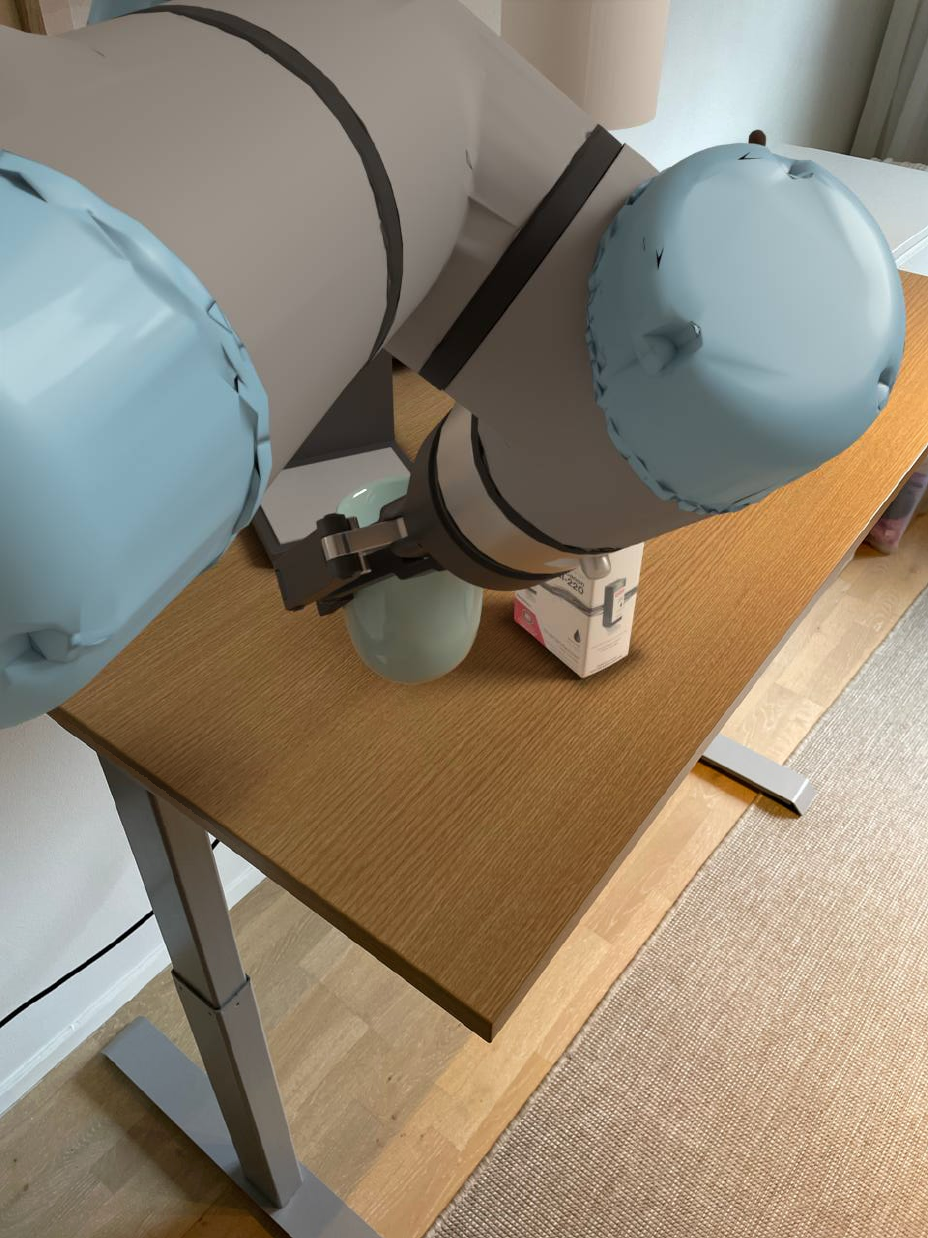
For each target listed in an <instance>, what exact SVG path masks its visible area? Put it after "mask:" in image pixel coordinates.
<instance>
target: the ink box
mask: <svg viewBox="0 0 928 1238" xmlns="http://www.w3.org/2000/svg"><path fill="white" fill-rule="evenodd" d="M644 546H645V542H642V543H639V544H637V545H633V546H630V547H628V548H624V549H622V550H619V551H617V552H614V553H611V554H608V556H609V559H610V563H611V571H610V574H609V575H607V576H606V577H605V578H601V579H598V580H592V579H587V577H586V576H585V575H584V573H583V572H582V569H581V566H580V567H578V568H576V569H575V570H573V571H571V572H569V573H567V574H564V575H562V576H559V577H557V578H554V579H552V580H549V581H547V582H544V583H542V584H539V585H537V586H534V587H531V588H527V589H523V590H517V591H514V613H513V614H514V615H513V616H514V618H513V620H514V622H516V623H517V624H518V625H519V626H521V627H522V628H523V629H524V630H525V631H526V632H528V634H530V635H531V636H532V637H533V638H535V639H536V640H537V642H539V643H540V644H541V645H542V646H544V647H545V648H546V649H547V650H548V651H550V652H551V654H553V655H554V656H556V657H557V658H558V659H559V660H560V661H561V662H562V663H563V664H564V665H566V666H567V667H568V668H569V669H571V670H572V671H573V672H574V673H575V674H577V676H579V678H581V679H585V678H587V677H589V676H593V675H594V674H596V673H599V672H600V671H601V672H602V671H603V670H605V669H606V668H608V667H611V666H613V664H616V663H617V662H618V661H620V660H622V659H623V658H626V656H628V655H629V650H630V642H631V636H632V630H633V623H634V622H633V621H634V615H635V608H636V602H637V594H638V590H639V589H638V588H639V582H640V581H639V580H640V574H641V567H642V559H643V553H644Z"/></svg>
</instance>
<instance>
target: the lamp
mask: <svg viewBox="0 0 928 1238" xmlns="http://www.w3.org/2000/svg"><path fill="white" fill-rule="evenodd" d="M500 4H501V6H500V7H501V8H500V35H499V37H501V38H502V39H503V40H504V41H505V42H506V43H507V44H508V45H510V46H511V47H512V48H513V49H514V50H515V51H516V52H518V53H519V54H520V55H521V56H522V57H523V58H524V59H525V60H527V61H528V62H529V63H530V64H531V65H532V66H533V67H535V68H536V69H537V70H538V71H539V72H540V73H541V74H542V75H544V76H545V77H546V78H547V79H548V80H549V81H550V82H552V83H553V84H554V85H555V86H556V87H557V88H558V89H559V90H561V91H562V92H563V93H564V94H565V95H566V96H567V97H569V98H570V99H571V100H572V101H573V102H574V103H575V104H576V105H578V106H579V107H580V108H581V109H582V110H583V111H584V112H586V113H587V114H588V115H589V116H590V117H591V118H592V119H594V120H595V121H596V122H597V123H598V124H599V125H601V126H602V127H603V128H605V129H606V130H607V131H608V132H610V131H619V130H627V129H631V128H637V127H639V126H644V125H646V124H648V123H650V122H652V121H653V120H654V119H655V118H656V115H657V107H658V101H659V91H660V83H661V76H662V68H663V61H664V52H665V43H666V37H667V28H668V21H669V14H670V4H671V0H501V3H500Z"/></svg>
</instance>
